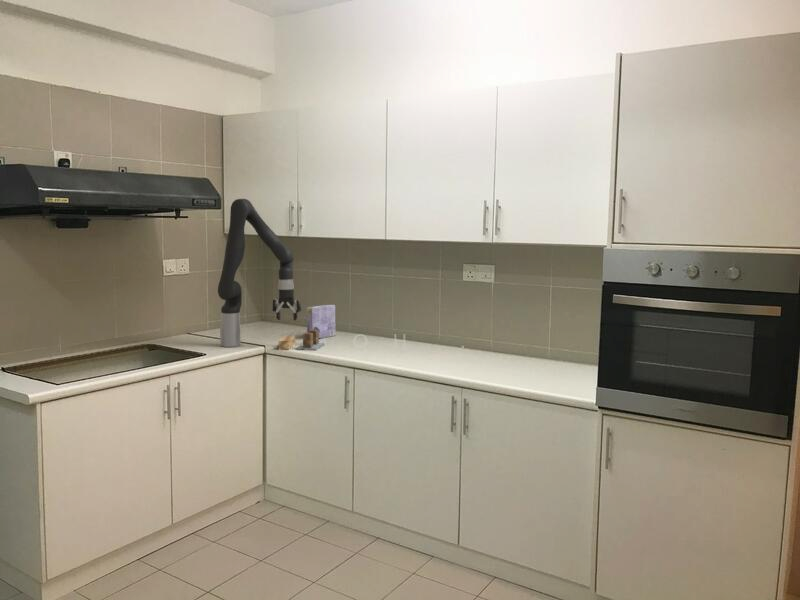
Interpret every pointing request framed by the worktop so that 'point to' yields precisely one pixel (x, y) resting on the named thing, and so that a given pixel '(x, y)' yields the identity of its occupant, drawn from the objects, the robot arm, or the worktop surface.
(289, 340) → the oak crossbeam
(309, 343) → the posts
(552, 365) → the worktop surface
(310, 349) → the blueprint plate
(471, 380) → the worktop surface
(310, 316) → the cake pan box
